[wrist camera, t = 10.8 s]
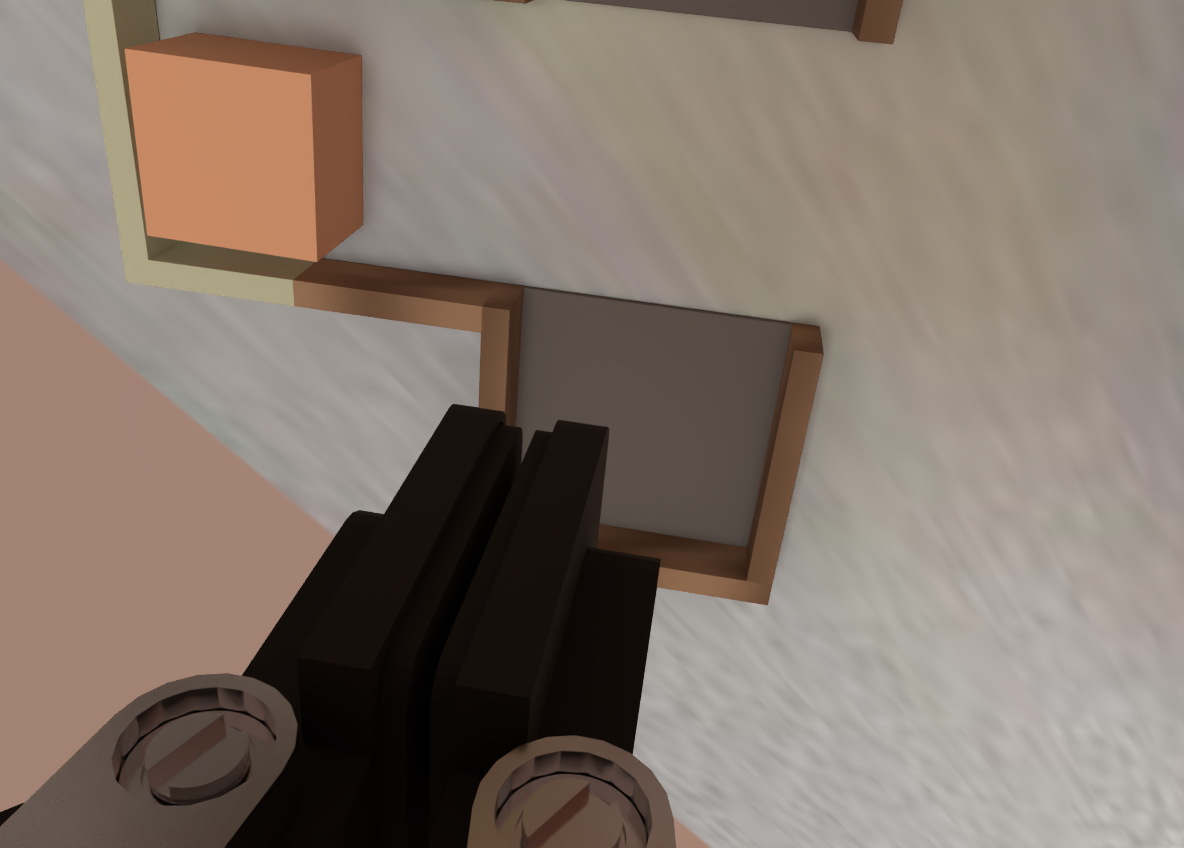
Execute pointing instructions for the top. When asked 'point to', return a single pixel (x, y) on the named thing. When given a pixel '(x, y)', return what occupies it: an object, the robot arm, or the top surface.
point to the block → (248, 143)
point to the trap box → (563, 343)
